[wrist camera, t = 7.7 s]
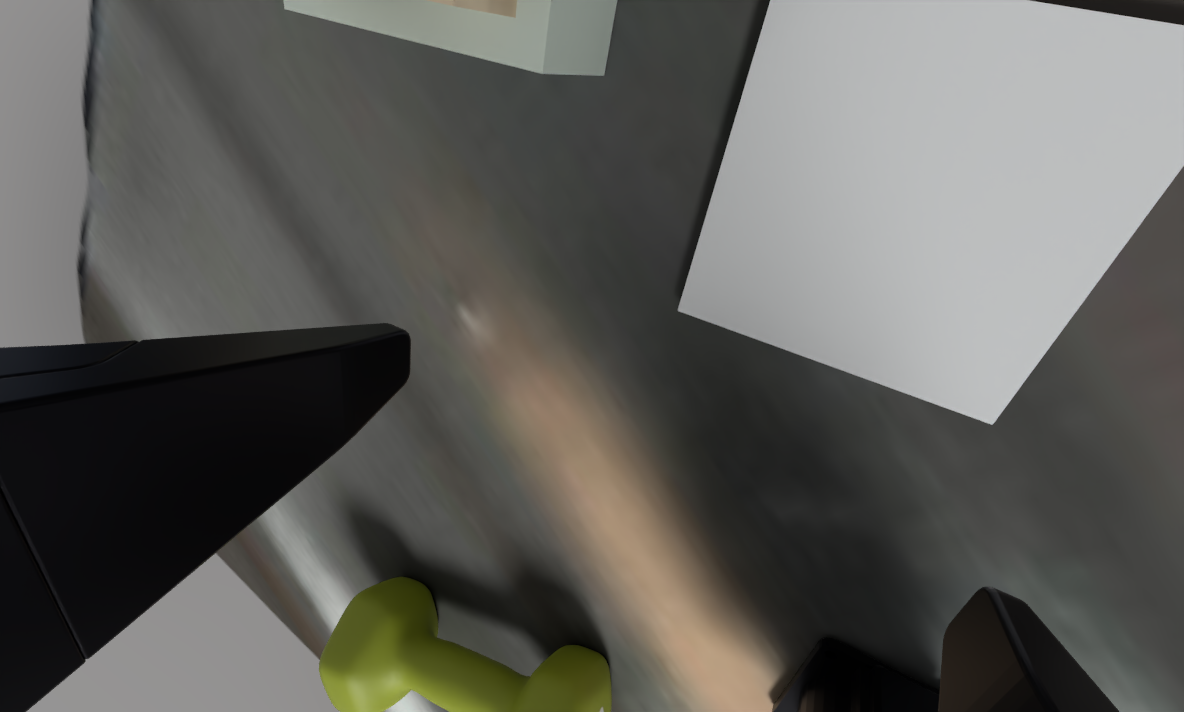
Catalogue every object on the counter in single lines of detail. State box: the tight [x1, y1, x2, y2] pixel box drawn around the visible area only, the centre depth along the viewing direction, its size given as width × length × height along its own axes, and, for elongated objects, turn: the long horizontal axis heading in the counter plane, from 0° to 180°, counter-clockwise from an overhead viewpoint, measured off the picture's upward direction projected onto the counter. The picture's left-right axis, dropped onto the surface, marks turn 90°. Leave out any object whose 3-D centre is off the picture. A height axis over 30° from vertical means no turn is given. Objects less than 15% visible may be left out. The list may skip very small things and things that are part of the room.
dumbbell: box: [319, 577, 612, 712], centre depth 31 cm, size 16×8×7 cm, turn 92°
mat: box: [678, 0, 1184, 425], centre depth 15 cm, size 10×10×1 cm
